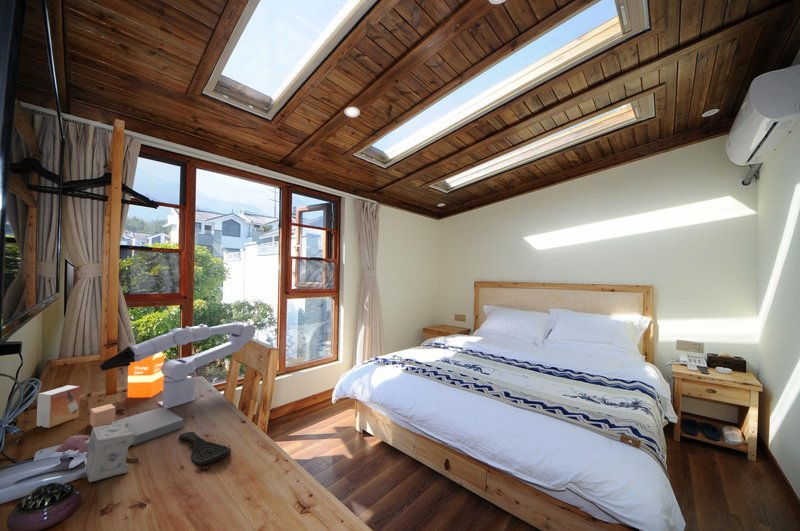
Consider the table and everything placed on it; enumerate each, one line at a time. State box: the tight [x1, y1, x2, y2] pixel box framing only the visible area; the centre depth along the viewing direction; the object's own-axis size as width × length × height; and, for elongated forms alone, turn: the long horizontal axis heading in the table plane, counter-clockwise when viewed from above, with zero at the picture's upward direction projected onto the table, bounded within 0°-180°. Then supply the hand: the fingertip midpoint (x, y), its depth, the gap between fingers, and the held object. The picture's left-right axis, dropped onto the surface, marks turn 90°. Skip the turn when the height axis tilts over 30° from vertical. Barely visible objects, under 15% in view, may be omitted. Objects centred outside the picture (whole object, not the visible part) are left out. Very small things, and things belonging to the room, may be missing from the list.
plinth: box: [109, 406, 184, 446], centre depth 99 cm, size 14×16×2 cm
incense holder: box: [85, 422, 135, 483], centre depth 79 cm, size 10×8×10 cm
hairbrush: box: [178, 431, 232, 466], centre depth 89 cm, size 8×4×25 cm
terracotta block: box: [89, 403, 116, 428], centre depth 102 cm, size 5×5×5 cm
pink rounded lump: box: [53, 434, 91, 454], centre depth 83 cm, size 10×5×7 cm, turn 71°
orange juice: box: [127, 351, 165, 399], centre depth 126 cm, size 8×9×20 cm
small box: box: [36, 384, 81, 429], centre depth 103 cm, size 8×6×10 cm
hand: (102, 366), depth 101 cm, fingers open, 7 cm apart
